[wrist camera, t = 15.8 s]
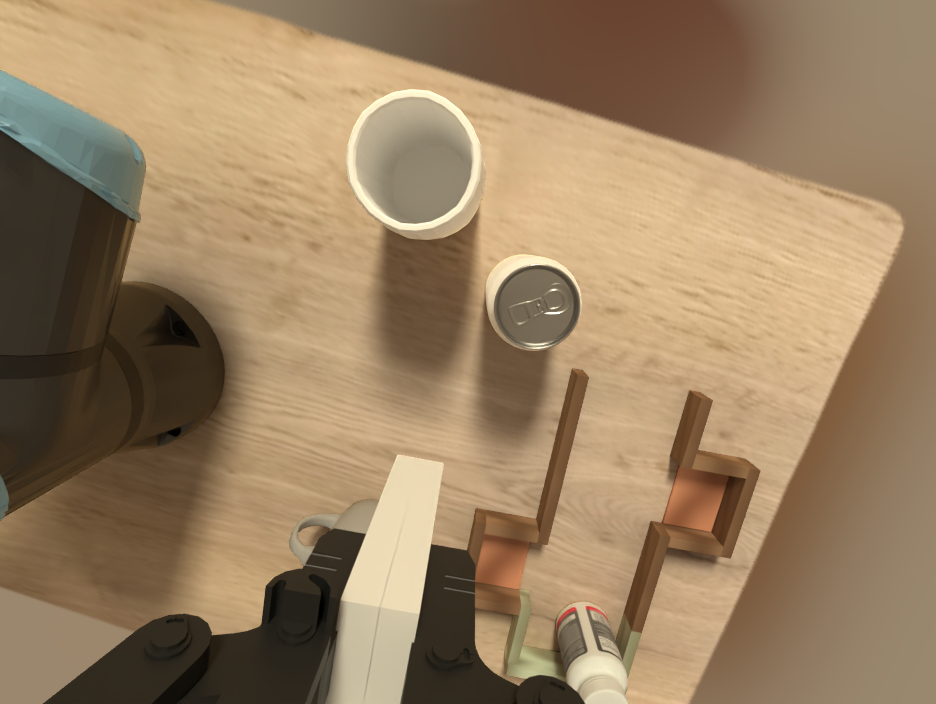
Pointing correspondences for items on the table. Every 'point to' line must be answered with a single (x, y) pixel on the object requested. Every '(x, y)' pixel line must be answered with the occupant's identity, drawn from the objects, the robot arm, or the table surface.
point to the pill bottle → (591, 654)
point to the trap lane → (684, 527)
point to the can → (532, 302)
